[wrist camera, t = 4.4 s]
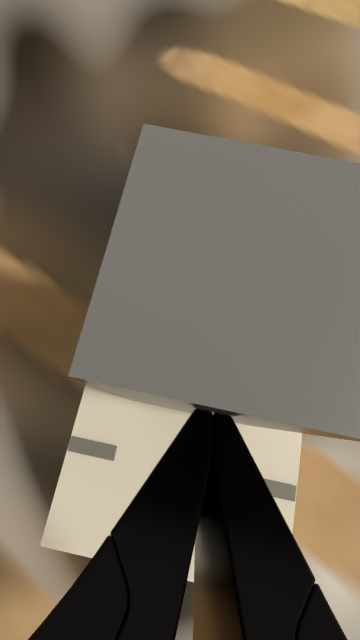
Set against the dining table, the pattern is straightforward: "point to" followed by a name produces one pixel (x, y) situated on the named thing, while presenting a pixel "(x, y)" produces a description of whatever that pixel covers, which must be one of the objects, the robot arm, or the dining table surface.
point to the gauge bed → (140, 467)
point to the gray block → (232, 286)
